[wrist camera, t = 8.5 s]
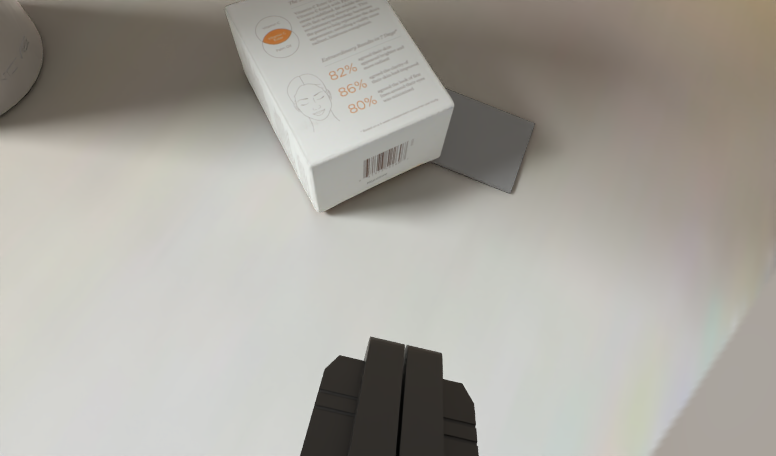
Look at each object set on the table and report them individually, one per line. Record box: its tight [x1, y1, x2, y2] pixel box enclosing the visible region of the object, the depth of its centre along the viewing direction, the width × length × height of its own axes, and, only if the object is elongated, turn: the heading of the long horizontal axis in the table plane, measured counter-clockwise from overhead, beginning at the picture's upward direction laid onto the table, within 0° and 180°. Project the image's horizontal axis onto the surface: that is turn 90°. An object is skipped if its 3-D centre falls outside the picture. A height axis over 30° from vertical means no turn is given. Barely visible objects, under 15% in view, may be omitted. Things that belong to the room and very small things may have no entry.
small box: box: [225, 0, 454, 212], centre depth 31 cm, size 8×6×10 cm
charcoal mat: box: [430, 88, 535, 194], centre depth 34 cm, size 11×5×1 cm, turn 68°
